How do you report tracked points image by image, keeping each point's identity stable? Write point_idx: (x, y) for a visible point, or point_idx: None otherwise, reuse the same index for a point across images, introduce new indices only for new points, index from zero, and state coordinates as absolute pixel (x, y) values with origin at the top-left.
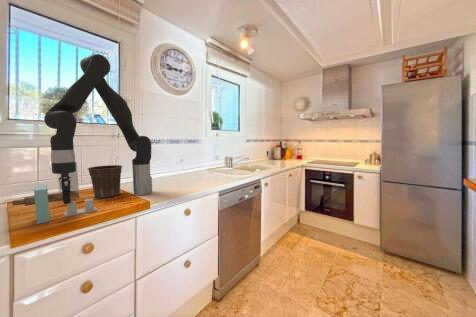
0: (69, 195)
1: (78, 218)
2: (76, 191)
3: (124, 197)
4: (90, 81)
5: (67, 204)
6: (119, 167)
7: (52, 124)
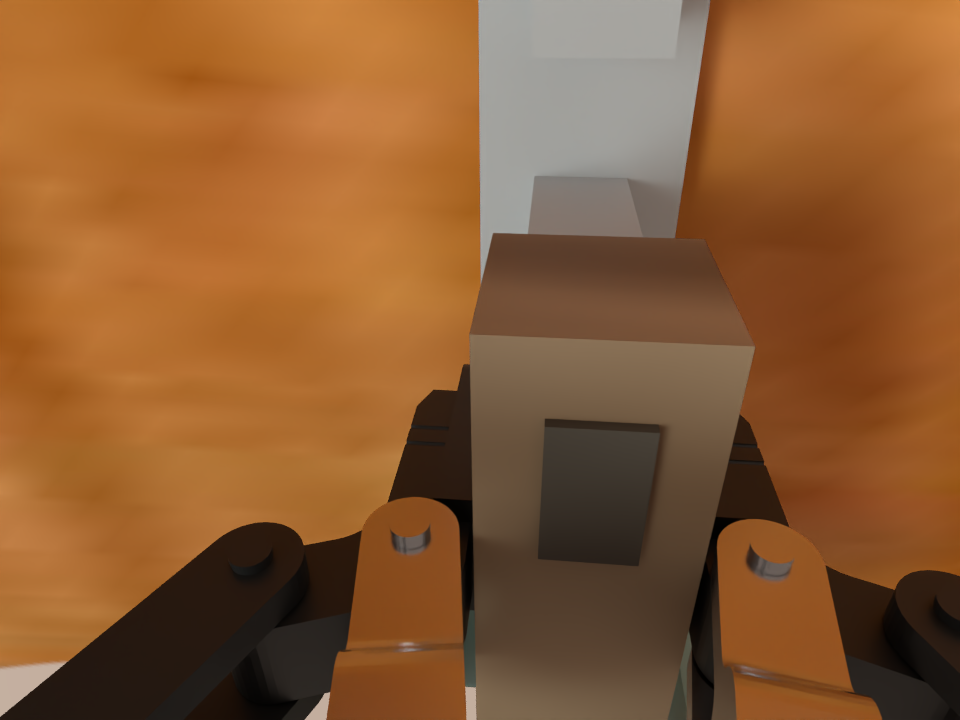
0: (731, 504)
1: (944, 180)
2: (729, 405)
3: None
4: None
5: None
6: None
7: None
